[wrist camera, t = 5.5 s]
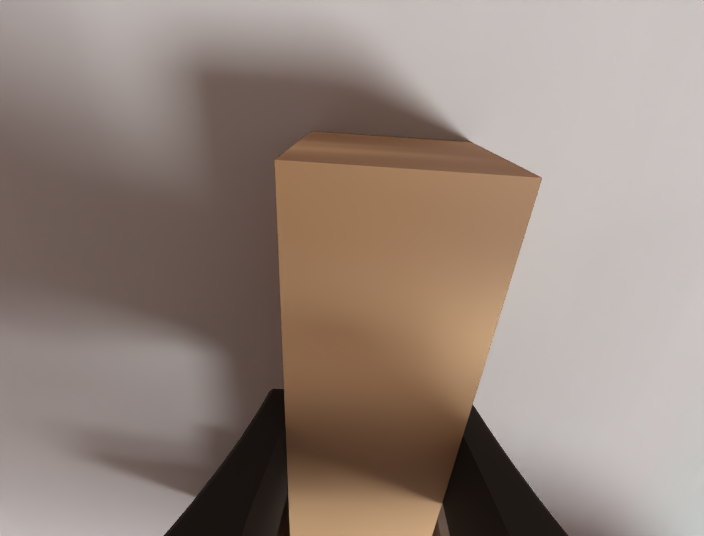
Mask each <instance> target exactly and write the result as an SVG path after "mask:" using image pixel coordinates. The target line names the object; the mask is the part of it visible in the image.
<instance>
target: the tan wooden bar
mask: <svg viewBox="0 0 704 536" xmlns="http://www.w3.org/2000/svg"><path fill="white" fill-rule="evenodd" d="M541 180H542V178H541V177H539V176H537V175H535V174H533V173H531V172H530V171H528V170H526V169H524V168H522V167H520V166H518V165H516V164H514V163H512V162H510V161H508V160H506V159H504V158H502V157H500V156H498V155H496V154H494V153H492V152H490V151H488V150H486V149H484V148H482V147H480V146H478V145H476V144H474V143H472V142H465V141H450V140H435V139H420V138H406V137H391V136H376V135H361V134H346V133H332V132H317V131H311V132H310V133H308V134H307V135H306V136H304V137H303V138H302V139H301V140H299V141H298V142H297V143H295V144H294V145H293V146H292V147H290V148H289V149H288V150H286V151H285V152H284V153H283V154H281V155H280V156H279V157H277V158H276V159H275V183H276V207H277V232H278V256H279V280H280V304H281V329H282V353H283V377H284V401H285V426H286V450H287V474H288V498H289V523H290V536H432V534H433V531H434V528H435V525H436V521H437V518H438V515H439V512H440V508H441V505H442V502H443V499H444V495H445V492H446V489H447V486H448V482H449V479H450V476H451V473H452V469H453V466H454V463H455V460H456V456H457V453H458V450H459V447H460V443H461V440H462V437H463V434H464V430H465V427H466V424H467V421H468V417H469V414H470V411H471V408H472V404H473V401H474V398H475V395H476V391H477V388H478V385H479V382H480V378H481V375H482V372H483V369H484V365H485V362H486V359H487V356H488V352H489V349H490V346H491V343H492V339H493V336H494V333H495V330H496V326H497V323H498V320H499V317H500V313H501V310H502V307H503V304H504V300H505V297H506V294H507V291H508V287H509V284H510V281H511V278H512V274H513V271H514V268H515V265H516V261H517V258H518V255H519V252H520V248H521V245H522V242H523V239H524V235H525V232H526V229H527V226H528V222H529V219H530V216H531V213H532V209H533V206H534V203H535V200H536V196H537V193H538V190H539V187H540V183H541Z"/></svg>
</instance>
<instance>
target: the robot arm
mask: <svg viewBox="0 0 704 536" xmlns="http://www.w3.org/2000/svg"><path fill="white" fill-rule="evenodd" d="M287 493H288V474H287V450H286V426H285V401H284V389H272V390H271V391H270V392H269V393H268V395H267V397H266V399H265V401H264V402H263V404H262V406H261V407H260V409H259V411H258V412H257V414H256V415H255V417H254V419H253V420H252V422H251V423H250V425H249V426H248V428H247V429H246V431H245V432H244V434H243V435H242V437H241V438H240V439H239V441H238V442H237V444H236V445H235V446H234V448H233V449H232V451H231V452H230V454H229V455H228V456H227V458H226V459H225V461H224V462H223V463H222V465H221V466H220V467H219V469H218V470H217V471H216V473H215V474H214V475H213V476H212V478H211V479H210V480H209V481H208V483H207V484H206V485H205V487H204V488H203V489H202V490H201V492H200V493H199V494H198V496H197V497H196V498H195V499H194V501H193V502H192V503H191V504H190V506H189V507H188V508H187V509H186V510H185V512H184V513H183V514H182V515H181V516H180V517H179V519H178V520H177V521H176V522H175V523H174V525H173V526H172V527H171V528H170V529H169V530H168V531H167V533H166V534H165V535H164V536H277V532H278V528H279V524H280V520H281V517H282V513H283V509H284V505H285V501H286V497H287ZM442 503H443V507H444V512H445V516H446V521H447V525H448V530H449V534H450V536H568V535H567V534H566V532H565V531H564V530H563V529H562V527H561V526H560V525H559V524H558V522H557V521H556V520H555V519H554V517H553V516H552V515H551V514H550V512H549V511H548V510H547V509H546V507H545V506H544V505H543V503H542V502H541V501H540V500H539V498H538V497H537V496H536V494H535V493H534V492H533V490H532V489H531V488H530V486H529V485H528V484H527V482H526V481H525V479H524V478H523V477H522V475H521V474H520V473H519V471H518V470H517V469H516V467H515V466H514V464H513V463H512V462H511V460H510V459H509V457H508V456H507V455H506V453H505V452H504V450H503V449H502V447H501V446H500V444H499V443H498V442H497V440H496V439H495V437H494V436H493V434H492V433H491V431H490V430H489V428H488V427H487V425H486V424H485V422H484V421H483V419H482V418H481V416H480V415H479V413H478V412H477V410H476V409H475V407H474V406H473V405H472V408H471V411H470V414H469V417H468V421H467V424H466V427H465V430H464V434H463V437H462V440H461V443H460V447H459V450H458V453H457V456H456V460H455V463H454V466H453V469H452V473H451V476H450V479H449V482H448V486H447V489H446V492H445V495H444V499H443V502H442Z"/></svg>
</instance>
